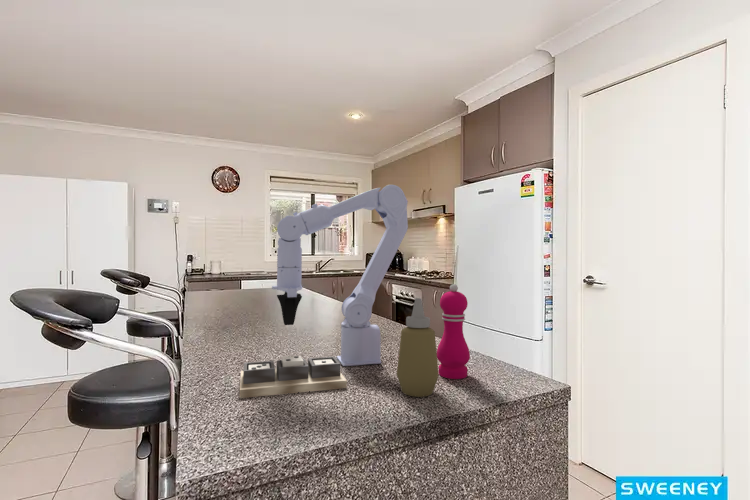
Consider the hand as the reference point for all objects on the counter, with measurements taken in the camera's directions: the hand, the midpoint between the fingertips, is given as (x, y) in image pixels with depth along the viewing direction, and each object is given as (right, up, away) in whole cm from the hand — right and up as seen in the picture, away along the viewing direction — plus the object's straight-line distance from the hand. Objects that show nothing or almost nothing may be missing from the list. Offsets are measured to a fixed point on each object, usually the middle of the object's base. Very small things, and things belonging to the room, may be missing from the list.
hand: (288, 324), depth 94 cm
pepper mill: (+38, -10, -7) cm, 40 cm away
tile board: (+4, -9, -14) cm, 17 cm away
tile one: (+10, -8, -12) cm, 17 cm away
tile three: (-3, -8, -15) cm, 17 cm away
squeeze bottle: (+29, -10, -18) cm, 35 cm away
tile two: (+4, -6, -14) cm, 15 cm away
